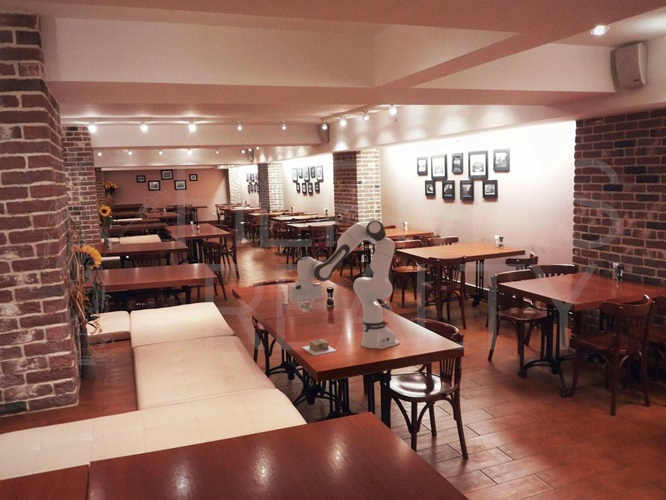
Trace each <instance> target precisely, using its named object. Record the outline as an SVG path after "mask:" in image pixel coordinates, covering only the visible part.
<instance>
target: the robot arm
mask: <svg viewBox="0 0 666 500" xmlns="http://www.w3.org/2000/svg"><path fill="white" fill-rule="evenodd" d="M363 241H365V242H367V243H369V244H371V245H374V246H375V249H374V252H373V256H372V258H371V260H370V264H369V266H370V269H371V271H372V273H373V276H372V277H367V276H363V277H362V276H361V277H357V278H356V279H355V280H354V282H353V287H352V288H353V291H354V292H355V293H356V295H357V296H358V298H359V300H360V302H361V306H362V315H363V317H362V318H363V320H362V339H361V344H360V345H361V347H363V348H368V349H379V350H382V349H387V348H390V347H393V346H397V345H400V340H398V339H396V334H395V332H394V331H393V330H391V329H390V328H388V327H387V326H388V325H389V323H390V321H387V320H384V319H383V318H384V317H383V312H384V311H383V307H382V305H381V304H380V302H378V301H379V300H377V299H382V300H383V299H389V298H390V297H391V296H392V293H393V285H392V283H391V281H390V279H389V272H390V268H391V264H392V261H393V257H394V254H395V247H396V243H395V242H394V241H393V240H392V238H390V237H387V233H386V229H385V225H384V224H383V223H382V222H381V221H379V220H375V219H374V220H370V221H369V222H368V223H367V225H364V223H361V222H356V223H354V224H353V225H352V226H349V228H347V229H346V230H345V231H344V232H343V233H342V234H341V235H340V237H339V238H338V239H337V245H336V250H335V251H334V252H333V254H332V255H331V256H330V257H329V258H328V259H327V260H326V261H324V262H323V261H320V260H317V259H314V258H313V257H311V256H308V255H307V256H303V257H300V258H299V259H298V260H297V265H296V268H297V270H296V271H297V273H296V274H297V281H296V282H293V283H291V284H290V285H289V288H290V290H289V292H288V301H290V303H296V304H298V307H299V309H300V310H301V309H303V306H302V305H301V304H300V303H301V302H306V301H310V302H311V303H312V308H313V307H314V303H315V300H319V299H322V298H323V290H322V284H321V283H322V282H327V281H329V280H330V279H331V278H332V275H333V273H334V271H335V269H336V268H337V267H338V266H339V265H340V264H341V263H342V262H343V261H344V259H345V258H346V257H347V256H348V255H349V254H350V253H351V252H352V251H354V250H355V249H356V248H357V247H358V246H359V245H360V244H361V243H362V242H363ZM314 278H316V280H317V281H319V282H321V283H319V282H317V283H314ZM386 325H387V326H386Z"/></svg>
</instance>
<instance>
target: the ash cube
mask: <svg viewBox="0 0 666 500" xmlns="http://www.w3.org/2000/svg"><path fill="white" fill-rule="evenodd" d="M311 302H312V301H310V300H307V301H301V303H300V304H301V305H302V306H303V309H300V311H301V312H303V313H308V312H313V307H312V303H311Z"/></svg>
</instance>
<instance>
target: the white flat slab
mask: <svg viewBox="0 0 666 500" xmlns="http://www.w3.org/2000/svg"><path fill="white" fill-rule="evenodd" d="M301 349H303V350H305V351H306V352H308V353H309V354H310V355H312V356H314V357H315V356H318V355H319V356H320V355H325V354H330V353H336V352H338V350H337V349H335V348H333V347H331V346H329V349H328V350H323V351H317V352H315V351H314V350H312V349H310V345H305V346H302V347H301Z"/></svg>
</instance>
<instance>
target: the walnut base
mask: <svg viewBox="0 0 666 500" xmlns="http://www.w3.org/2000/svg"><path fill="white" fill-rule="evenodd" d="M308 343H309V346H310V349H312V350H314V351H315V352H317V351H323V350H328V349H329V342H328V341H327V340H325V339H323V338H320V339H315V340H309V342H308Z"/></svg>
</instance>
